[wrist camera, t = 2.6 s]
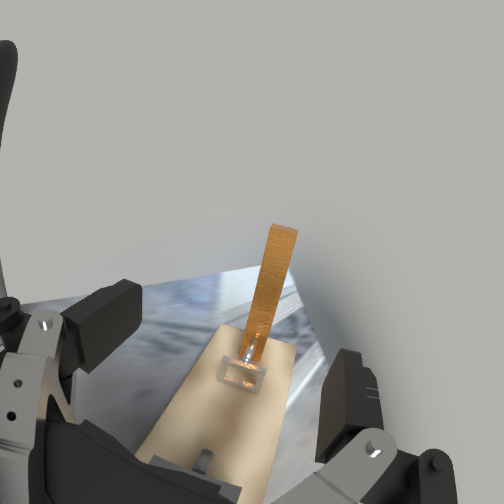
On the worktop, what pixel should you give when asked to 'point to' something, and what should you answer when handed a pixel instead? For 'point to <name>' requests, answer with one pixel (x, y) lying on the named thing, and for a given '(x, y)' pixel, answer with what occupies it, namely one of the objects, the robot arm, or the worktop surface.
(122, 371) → the worktop surface
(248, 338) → the upright wooden paddle
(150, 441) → the rail board
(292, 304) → the worktop surface
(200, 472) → the gray rectangular block
